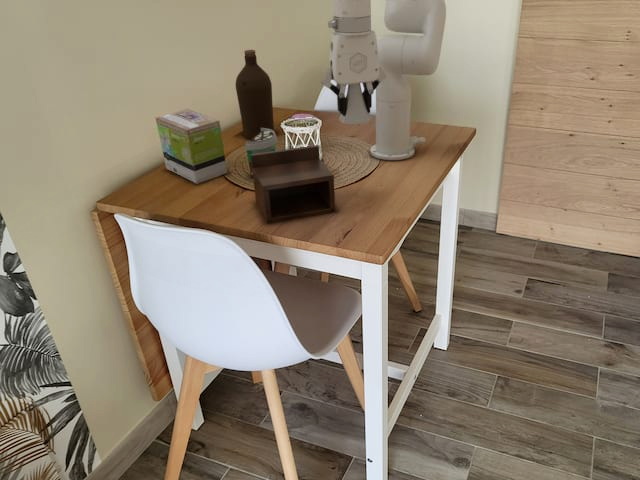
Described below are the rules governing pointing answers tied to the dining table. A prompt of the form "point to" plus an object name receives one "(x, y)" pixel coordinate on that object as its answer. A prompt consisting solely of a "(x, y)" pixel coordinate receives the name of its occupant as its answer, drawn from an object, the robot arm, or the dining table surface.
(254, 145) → the food container
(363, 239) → the dining table surface
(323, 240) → the dining table surface
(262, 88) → the olive oil
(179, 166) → the tea box
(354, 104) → the flask
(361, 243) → the dining table surface
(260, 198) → the spice shelf
